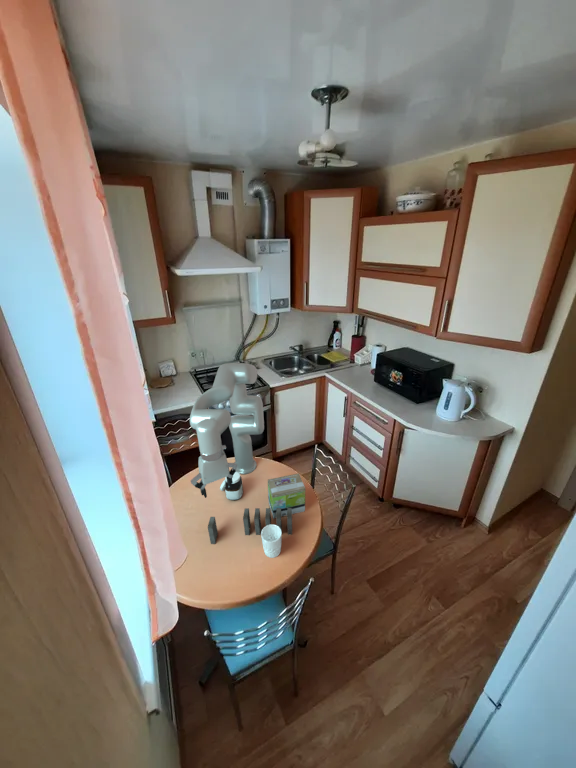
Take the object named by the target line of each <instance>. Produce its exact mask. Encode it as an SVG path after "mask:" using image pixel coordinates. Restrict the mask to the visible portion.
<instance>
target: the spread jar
mask: <svg viewBox="0 0 576 768" xmlns="http://www.w3.org/2000/svg"><path fill="white" fill-rule="evenodd" d="M224 478H225V479H224V480H223V481H222V482H221V484H220V487H219V490H220V491H221V492H222V491H223V492H224V491H225V492H224V493H225V496H226V499H228V501H238V500H240V499H241V498H242V497H243V494H244V493H243V492H244V485H243V478H242V476H241V474H239V473H238V472H235V473H234V475H233V478H232V482H233V483H232V487H229V485H228V483H227V478H226V477H224Z"/></svg>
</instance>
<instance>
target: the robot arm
mask: <svg viewBox="0 0 576 768" xmlns="http://www.w3.org/2000/svg"><path fill="white" fill-rule="evenodd" d="M257 379H258V370H257V368H256V366H255V365H254V364H251V363H245V362H226V363H223V364H221V365H220V366H219V367H218V369H217V371H216V374H215V378H214V381H213V384H212V387H211V388H209V389H208V390H205V392H203V393H202V394H201V395H199V397H197V398H196V399H195V402H194V403H193V406H192V409H191V412H190V415H189V425H190V427H191V428H192V429H193V430H195V432H196V436H197V441H198V449H199V452H200V453H199V454H200V456H199V457H198V473H197V474H196V475H195V476H194V477H193V478H192V479H191V480H190V483H191V485H192V486H194V487H195V488H196V489H199V490H200V494H201V496H204V498H207V497H208V496H207V495H208V493H207V489H206V486H207V485H209V484H212V483H214V482H216V481H220V480H222V479H224V478H225V477H226V478H227V483H228V485H229V487H232V483H233V482H232V478H233V475H234V473H235V472H238V473H239V474H240V475H247V474H251V473H252V472H254V471H255V470H256V468H257V461H256V460H255V459H254V456H253V455H254V454H253V446H252V445H253V443H252V437H251V435H252V436H253V435H254V436H257V435H262V434H263V432H264V430H265V418H264V404H263V400H262V398H261V396H259V395H248V392H247V385H251V384H252V385H253V384H255V383H256V382H257ZM228 400H229V406H230V407H229V408H230V410H231V411H229V410H227V409H222V408H221V409H218V408H216V409H215V408H210V407H212V406H215V405H218V404H221V403H224V402H227V401H228ZM231 414H234V416H231ZM228 428H229V431H230V434H231V438H232V447H233V453H234V462H228V459H227V455H226V453H225V450H226V449H227V446H226V444H223V443H222V438H221V435H222V434H223V433H224V432H225V431H226V430H227V429H228ZM199 480H200V481H199Z"/></svg>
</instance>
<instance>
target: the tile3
mask: <svg viewBox="0 0 576 768" xmlns="http://www.w3.org/2000/svg"><path fill="white" fill-rule="evenodd" d="M271 515H272V511H271V508H270V507H269V508H268V507H266V508H265V515H264V516H265V517H264V519H265V523H264V524H265V526H267V525H271V524H272V518H271V517H272V516H271Z"/></svg>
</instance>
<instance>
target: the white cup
mask: <svg viewBox="0 0 576 768" xmlns="http://www.w3.org/2000/svg"><path fill="white" fill-rule="evenodd" d="M260 535H261V542H262V547H263V551H264V554H265V556H266V557H268V558H271V559H273V558H277V557H278V556H279V555H280V554H281V551H282V532H281V529H280V528H279V527H278V526H277V524H272V523H271V525H267V526H266V525H265V526H264V527H263V528H262V529H261V531H260Z"/></svg>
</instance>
